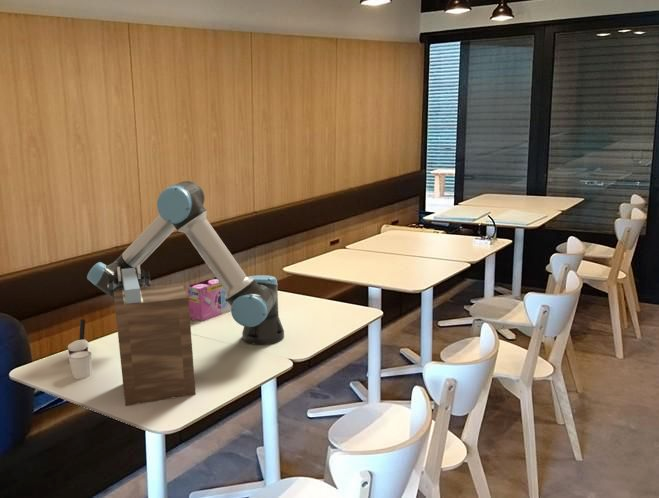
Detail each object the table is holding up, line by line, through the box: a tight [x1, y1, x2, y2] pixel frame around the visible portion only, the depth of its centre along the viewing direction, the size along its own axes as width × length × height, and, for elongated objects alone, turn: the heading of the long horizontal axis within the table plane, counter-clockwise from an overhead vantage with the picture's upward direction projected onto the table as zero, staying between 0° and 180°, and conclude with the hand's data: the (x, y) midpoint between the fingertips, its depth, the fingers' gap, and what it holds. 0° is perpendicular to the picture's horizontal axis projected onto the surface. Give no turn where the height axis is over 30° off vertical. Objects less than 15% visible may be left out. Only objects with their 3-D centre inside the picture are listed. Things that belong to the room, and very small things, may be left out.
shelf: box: [113, 283, 197, 407], centre depth 195 cm, size 16×20×30 cm
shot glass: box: [68, 350, 93, 380], centre depth 209 cm, size 7×7×7 cm
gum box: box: [186, 276, 231, 322], centre depth 267 cm, size 24×8×14 cm, turn 142°
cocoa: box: [67, 319, 89, 355], centre depth 223 cm, size 10×6×12 cm, turn 148°
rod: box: [121, 268, 141, 304], centre depth 194 cm, size 25×4×4 cm, turn 19°
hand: (129, 270), depth 197 cm, fingers open, 5 cm apart
